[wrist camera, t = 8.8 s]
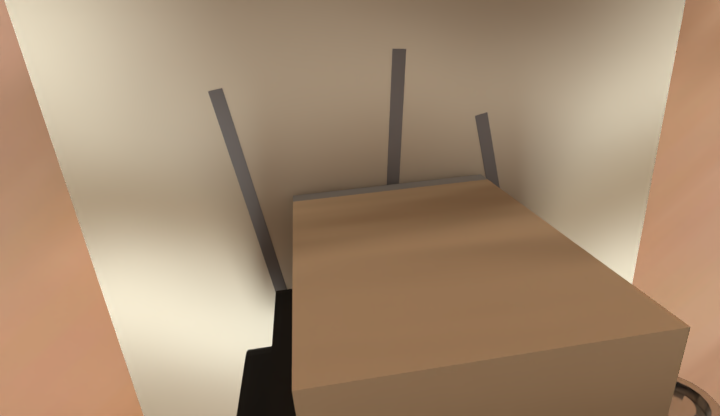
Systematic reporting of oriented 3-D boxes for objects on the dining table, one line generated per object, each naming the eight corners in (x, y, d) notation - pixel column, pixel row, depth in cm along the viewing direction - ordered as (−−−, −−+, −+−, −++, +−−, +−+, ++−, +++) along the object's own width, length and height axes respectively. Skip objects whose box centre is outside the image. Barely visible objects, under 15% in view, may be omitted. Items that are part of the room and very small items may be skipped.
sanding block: (292, 195, 10) (291, 390, 4) (481, 174, 10) (689, 326, 5) (323, 422, 13) (347, 722, 7) (473, 396, 13) (604, 660, 8)
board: (-53, -322, 8) (-132, -405, 6) (684, -313, 9) (756, -378, 8) (191, 482, 15) (181, 528, 14) (574, 415, 16) (600, 450, 15)
